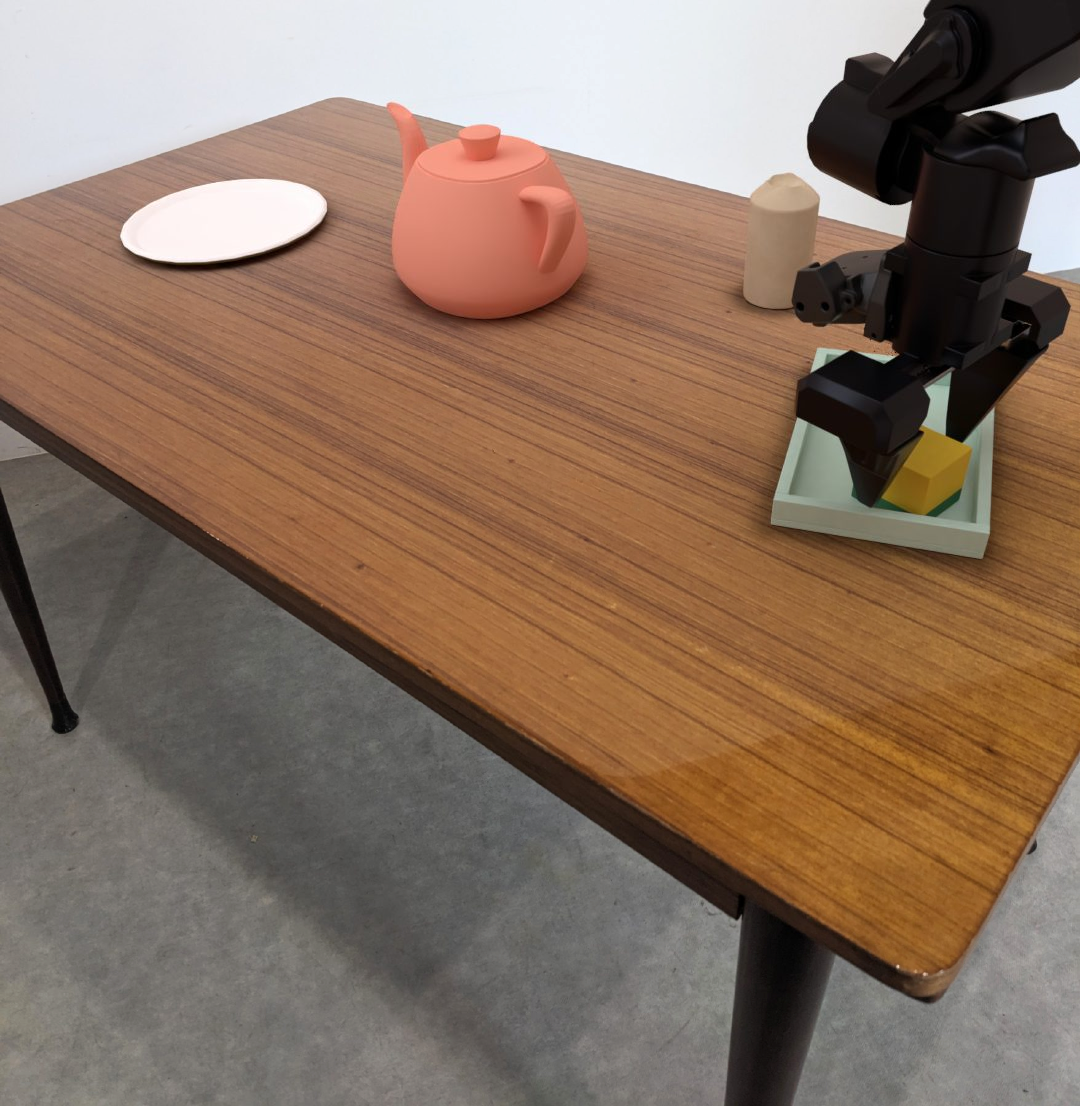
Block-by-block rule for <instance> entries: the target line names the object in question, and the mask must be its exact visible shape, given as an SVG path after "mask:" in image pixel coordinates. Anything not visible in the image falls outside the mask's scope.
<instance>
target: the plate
mask: <svg viewBox="0 0 1080 1106" xmlns="http://www.w3.org/2000/svg"><path fill="white" fill-rule="evenodd" d="M327 201H328V200H326V199H325V198H324V196H323V195H322V194H321V193H320V192H319V191H318V190H316V189H313V188H311V187H310V186H308V185H306V184H302V183H299V182H294V181H290V180H285V179H284V180H283V179H273V178H244V179H243V178H242V179H241V178H240V179H233V180H224V181H217V182H211V183H207V184H202V185H196V186H192V187H190V188H185V189H183V190H179V191H176V192H173V193H170V194H166V196H163V197H161V198H158V199H156V200H154V201H152V202H150V203H148V204H146V205H145V206H144V207H141V208H140V209H138V210H137V211H136V212H134V213H133V214H132V215H131V216H130V217H129V218H128V219H127V220H126V221H125V222H124V224H123V225H122V228H121V232H120V235H119V236H120V240H121V242H122V244H123V247H124V248H125V249H126V250H128V251H129V252H130V253H131V254H133V255H135V256H136V257H138V258H141V259H145V260H148V261H150V262H154V263H159V264H168V265H176V266H196V265H199V266H203V265H214V264H215V265H216V264H222V263H229V262H231V263H232V262H237V261H241V260H245V259H249V258H254V257H258V256H263V255H265V254H268V253H271V252H274V251H277V250H280V249H282V248H285V247H288V246H290V245H292V244H294V243H295V242H297V241H299V240H302V239H303V238H305V237H307V236H308V235H310V234H311V232H313V231H314V230H315V229H317V228H318V227H319V226H320V225H321V224H322V223H323V221H324V219H325V218H326V216H327V214H328V204H327Z"/></svg>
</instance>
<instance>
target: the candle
mask: <svg viewBox="0 0 1080 1106" xmlns="http://www.w3.org/2000/svg"><path fill="white" fill-rule="evenodd" d="M820 201H821V196H820V194H819V193H818V191H816V190H815V189H814V188H813V186H811V185H810V184H808V182H806V181H805V180H804V179H803V178H801V177H800V176H797V175H796V174H794V173H793V172H785V173H778V174H774V175H772V176H770V177H769V178H768V179H767V180H765V181H764V183H762V184H761V185H759V186H758V187H757V188H755V190H754V191H753V192H751V194H750V195H749V206H748V207H749V208H748V218H747V219H748V222H747V231H746V232H747V233H746V247H745V260H744V272H743V287H742V288H743V289H742V292H743V297H744V299H745V300H746V301H747V302H749V303H750V304H752V305H754V306H756V307H760V308H765V309H772V310H782V309H783V310H785V309H791V308H794V306H793V305H792V302H791V299H792V294H793V289H794V284H795V280H796V275H797V271H798V270H800V269H802V268H804V267H806V266H808V265H810V264H812V263H814V262H813V260H814V253H815V252H814V251H815V245H816V236H817V228H818V219H819V212H820V203H821V202H820Z"/></svg>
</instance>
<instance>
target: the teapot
mask: <svg viewBox="0 0 1080 1106" xmlns="http://www.w3.org/2000/svg"><path fill="white" fill-rule="evenodd" d="M386 109H387V112H388V113H389V115H390V116H391V118H392V120H393V121H394V123H395V125H396V128H397V131H398V134H399V138H400V143H401V151H402V153H401V155H402V185H403V188H402V191H401V194H400V197H399V200H398V203H397V207H396V210H395V215H394V220H393V225H392V236H391V253H392V262H393V267H394V269H395V272H396V274H397V275H398V278H399V279H400V280H401V282H402V283H403V284H404V285H405V286H406V287H407V288H408V290H410V291H411V293H413V294H414V295H415V296H416V297H417V298H418V299H420V301H422V302H423V303H425V304H426V305H427V306H429V307H430V308H433V309H435V310H438V311H439V312H442V313H445V314H449V315H452V316H457V317H460V318H466V319H467V318H468V319H477V320H492V319H501V318H502V319H503V318H508V317H513V316H517V315H521V314H525V313H528V312H531V311H533V310H536V309H539V308H542V307H544V306H546V305H548V304H550V303H552V302H554V301H555V300H558V299H559V298H561V297H562V296H564V295H565V294H567V292H568V291H569V290H570V289H571V288H572V286H573V285H574V284H575V283H576V282H577V280H578V279H579V278H580V276H581V274H582V273H583V271H584V270H585V268H586V267H587V263H588V259H589V256H590V253H589V240H588V235H587V230H586V226H585V222H584V217H583V214H582V212H581V209H580V207H579V204H578V202H577V200H576V198H575V196H574V194H573V192H572V190H571V188H570V186H569V184H568V182H567V181H566V180H565V178H564V176H563V174H562V173H561V170H560V169H559V167H558V165H557V164H556V162H555V161H554V160H553V159H552V157H551V156H550V154H549V152H548V151H546V149H544V148H543V147H542V146H540V145H539V144H537V143H535V142H534V141H531V140H529V139H525V138H522V137H518V136H513V135H507V134H502V133H501V132H502V130H501V128H500V127H498V126H495V125H492V124H483V123H482V124H473V125H469V126H466V127H464V128H462V129H460V130H459V131H458V134H457V135H458V137H459V138H455V139H451V140H447V141H444V142H441V143H438V144H436V145H433V146H431V147H429V145H428V143H427V140H426V137H425V135H424V133H423V130H422V128H421V126H420V124H419V122H418V120H417V118H416V117H415V116H414V114H413V113H412V112H411V111H410V110H409V109H407V108H406V107H405V106H404V105H402V104H400V103H397V102H393V101H391V102H388V103H386Z"/></svg>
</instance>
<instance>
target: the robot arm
mask: <svg viewBox="0 0 1080 1106" xmlns="http://www.w3.org/2000/svg"><path fill="white" fill-rule="evenodd" d="M922 15H923V18H924V21H923V24H922V25H921V27H920V28H919V30H917V32H916V33H915V35H914V36H913V37H912V39H910V41H909V42H908V44H907V45H906V46H905V47H904V49H903V50H902V52H901V53H900V54H899V56H898V57H897V58H896V59H895V61H894V60H893V59H892V58H890V57H889V56H887V55H884V54H882V53H879V52H876V51H875V52H870V53H865V54H861V55H856V56H851V57H848V58H847V59H845V63H844V71H843V76H842V77H843V78H842V80H840V81H839V82H838V83H837V84H836V85H834V86H833V87H832V88H831V89H830V90H829V92H828V93H827V94H826V95H825V96H824V98H823V99H822V101H821V102H820V104H819V106H818V107H817V109H816V111H815V113H814V116H813V119H812V120H811V121H810V123H809V125H808V126H807V133H806V150H807V153H808V157H809V160H810V161H811V163H812V165H813V166H814V167H815V168H816V169H817V170H818V171H819V172H820V173H823V174H825V175H827V176H828V177H831V178H833V179H834V180H836V181H839V182H840V183H843V184H845V185H846V186H848V187H851V188H852V189H854V190H856V191H859V192H860V193H862V194H864V195H867V196H869V197H870V198H872V199H874V200H876V201H879V202H880V203H882V204H885V205H888V206H902V205H906V204H908V203H910V208H909V214H908V220H907V226H906V231H905V236H904V241H903V242H901V243H899V244H897V245H895V246H894V247H892V248H888V249H887V248H884V249H868V250H867V249H866V250H856V251H850V252H846V253H843V254H840V255H837V256H835V257H834V258H832V259H830V260H828V261H826V262H824V263H822V264H820V262H819V261H814V262H812V264H810V265H808V266H806V267H804V268H802V269H800V270H798V271H797V275H796V280H795V284H794V289H793V294H792V299H791V302H792V305H793V306H794V307H793V310H794V314H795V317H796V318H797V319H798V320H799V321H800V322H801V323H803V324H811V325H812V327H815V328H826V327H827V326H828V325H864V328H863V333H862V336H863V337H865V338H867V339H869V340H872V341H874V342H876V343H879V344H882V343H883V342H885V341H886V342H888V343H891V350H893V352H895V353H896V354H898V355H895V356H896V357H895V358H893V359H891V360H890V361H888V362H886V363H885V364H884V363H881V362H879V361H876V360H874V359H872V358H869V357H867V356H865V355H862V354H860V353H858V352H859V351H856V350H853V349H850V350H846V351H847V352H846V353H844V354H842V355H840V356H838V357H837V358H835V359H833V360H831V361H830V362H828V363H826V364H825V365H823V366H821V367H820V368H818V369H816V370H815V371H813V372H811V371H810V372H811V373H808V374H805V376H803V377H801V378H800V379H799V378H798V380H797V381H796V390H795V398H794V406H793V410H794V415H795V417H796V418H797V417H798V418H800V419H802V420H804V421H806V422H808V423H810V424H812V425H814V426H816V427H818V428H820V429H822V430H824V431H826V432H828V433H830V434H833V435H835V436H837V437H839V440H840V442H841V445H842V447H843V450H844V452H845V456H846V460H847V463H848V467H849V471H850V474H851V478H852V482H853V486H854V490H855V493H856V497H857V500H858V501H859V502H860V503H862V504H864V505H865V506H867V507H869V508H873V507H874V506H875V505H876V504H877V503H878V502H879V500H880V499H881V497H882V496H883V495H884V493H885V492H886V491H887V489H888V488H889V486H890V485H891V483H892V481H893V480H894V478H895V477H896V475H897V474H898V472H899V471H900V469H901V468H902V466H903V465H904V463H905V462H906V460H907V459H908V457H909V456H910V454H911V453H912V451H913V450H914V448H915V447H916V445H917V444H918V442H919V441H920V439H921V438H922V436H923V435H924V431H921V430H919V428H920V427H921V425H922V424H923V422H924V420H925V419H926V417H927V414H928V410H929V405H930V400H931V399H930V397H929V396H928V394H927V392H926V390H925V389H926V388H927V387H929V386H930V385H932V384H933V383H935V382H937V381H938V380H940V379H941V378H943V377H944V376H946V375H947V374H949V373H950V372H951V379H950V388H949V397H948V405H947V414H946V432H945V436H947V437H949V438H951V439H954V440H956V441H958V442H960V443H963V442H964V441H965V440H966V439H967V438H968V437H969V436H970V435H971V433H972V432H973V431H974V430H975V429H976V428H977V426H978V425H979V424H980V423H981V422H982V421H983V420H984V418H985V417H986V416H987V415H988V414H989V413H990V412H991V410H992V409H993V408H994V407H996V406H997V405H998V404H999V402H1001V400H1002V399H1003V398H1004V397H1005V396H1006V395H1007V394H1008V393H1009V392H1010V390H1011V389H1012V388H1013V387H1014V386H1015V385H1016V384H1017V383H1018V381H1019V380H1020V379H1022V377H1024V375H1025V374H1026V373H1027V371H1029V369H1031V367H1032V366H1033V365H1034V364H1035V363H1036V362H1037V361H1038V360H1039V359H1040V358H1041V356H1043V355H1044V354H1045V353H1046V352H1047V351H1048V350H1049V348H1050V343H1052V342H1053V341H1055V340H1056V339H1058V338H1059V337H1060V336H1062V335H1063V334H1064V331H1065V328H1066V324H1067V321H1068V318H1069V314H1070V311H1071V308H1072V305H1071V303H1070V302H1069V299H1068V298H1067V296H1066V294H1065V293H1064V291H1063V289H1062V287H1061V286H1059V285H1055V284H1052V283H1049V282H1046V281H1042V280H1040V279H1036V278H1034V277H1031V276H1028V275H1024V274H1025V273H1027V272H1028V270H1029V267H1030V263H1031V260H1032V256H1033V253H1032V252H1029V251H1025V250H1023V249H1019V246H1020V242H1021V236H1022V233H1023V229H1024V226H1025V222H1026V217H1027V213H1028V209H1029V206H1030V201H1031V198H1032V194H1033V190H1034V187H1035V186H1034V185H1035V182H1036V179H1038V178H1041V177H1045V176H1048V175H1052V174H1056V173H1060V172H1062V171H1063V172H1064V171H1067V170H1069V169H1074V168H1076V167H1079V165H1080V149H1079V147H1078V145H1077V144H1076V141H1075V140H1074V139H1073V138H1072V137H1071V136H1070V135H1068V133H1067V132H1066V131H1065V129H1064V128H1063V126H1062V123H1061V119H1060V117H1059V114H1058V113H1056V112H1054V111H1053V112H1048V113H1045V114H1042V115H1038V116H1034V117H1029V118H1026V119H1020V118H1017V117H1014V116H1011V115H1010V114H1006V113H1004V112H1001V111H997V110H982V109H987V108H990V107H994V106H999V105H1003V104H1006V103H1011V102H1014V101H1015V102H1016V101H1020V100H1023V99H1026V98H1032V97H1035V96H1040V95H1044V94H1048V93H1052V92H1053V93H1054V92H1057V91H1060V90H1063V89H1065V88H1067V87H1069V86H1071V85H1072V84H1073V83H1076V81H1078V80H1079V79H1080V0H929V1H928V2H927V3H926V6H925V7H924V9H923V12H922ZM978 110H982V111H978ZM974 111H978V112H975V113H972V114H971V115H966V113H970V112H974Z"/></svg>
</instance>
